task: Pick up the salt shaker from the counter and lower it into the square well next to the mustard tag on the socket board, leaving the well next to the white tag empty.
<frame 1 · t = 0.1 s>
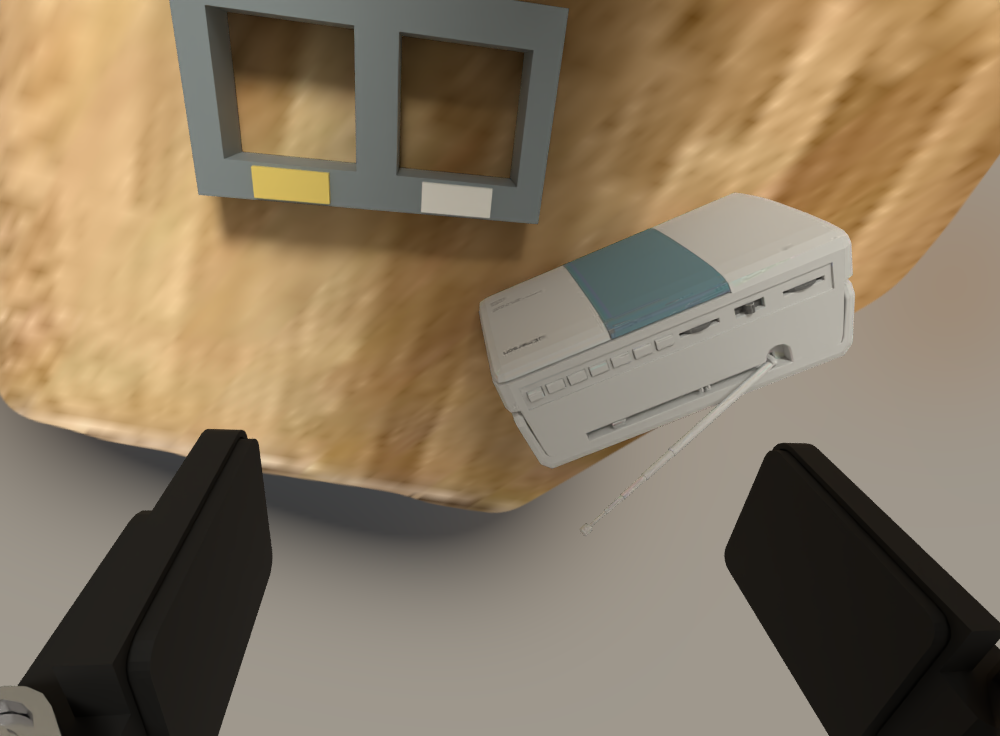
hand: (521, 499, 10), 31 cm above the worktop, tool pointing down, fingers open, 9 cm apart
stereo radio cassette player: (612, 283, 42), on the worktop
socket board: (381, 102, 34), on the worktop
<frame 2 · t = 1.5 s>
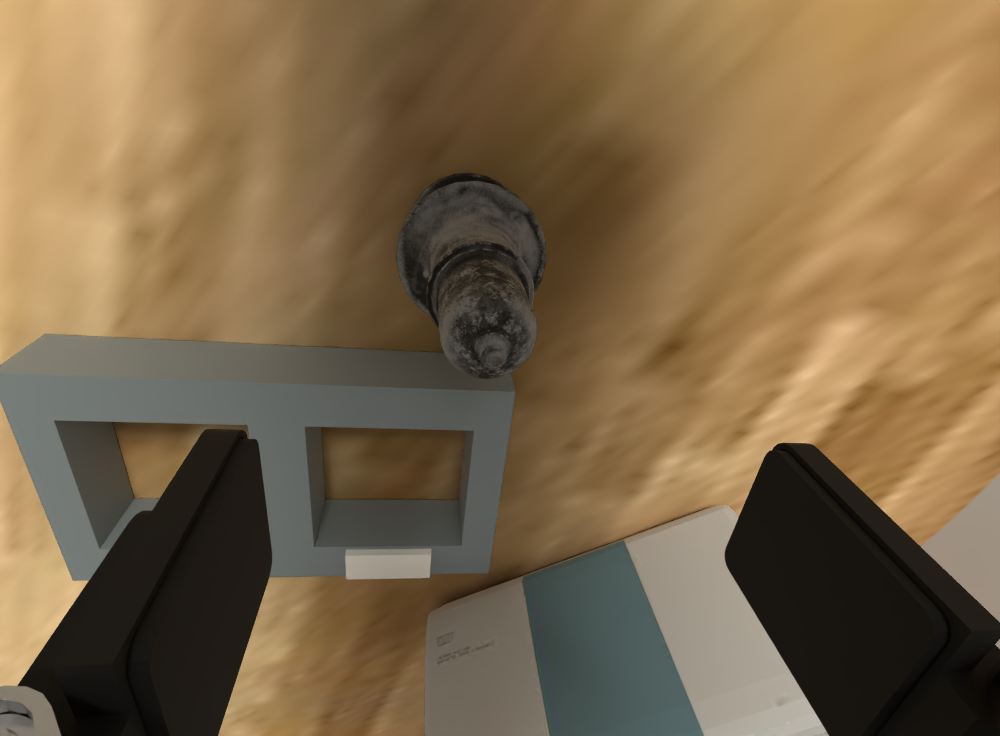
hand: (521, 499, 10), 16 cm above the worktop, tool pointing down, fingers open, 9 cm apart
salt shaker: (466, 233, 24), on the worktop
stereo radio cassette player: (583, 575, 37), on the worktop
socket board: (299, 445, 28), on the worktop
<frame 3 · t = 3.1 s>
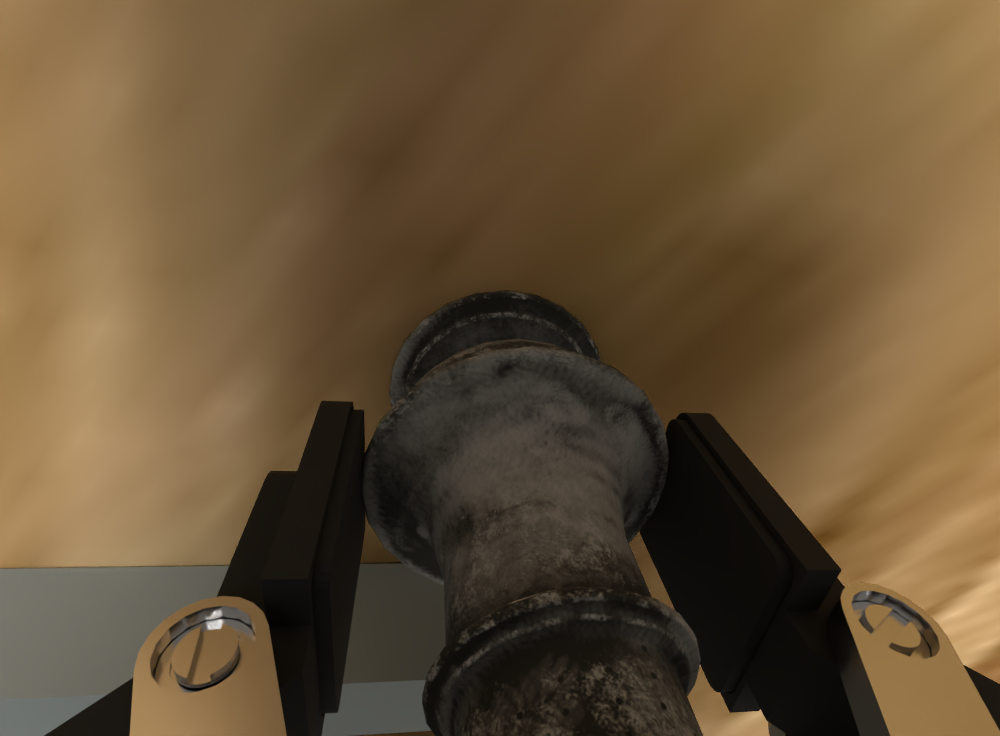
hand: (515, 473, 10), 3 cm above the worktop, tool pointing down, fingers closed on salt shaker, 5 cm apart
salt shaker: (497, 387, 13), on the worktop, touching gripper
socket board: (219, 693, 17), on the worktop
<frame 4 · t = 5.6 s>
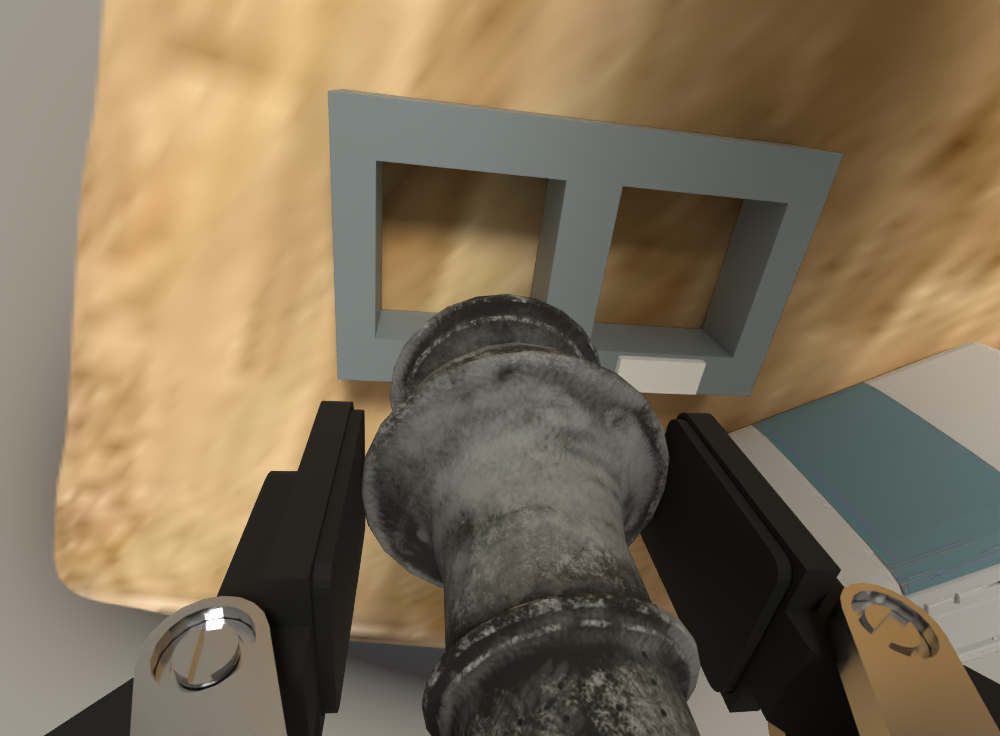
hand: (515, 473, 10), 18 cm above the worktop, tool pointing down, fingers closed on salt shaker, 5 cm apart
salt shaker: (497, 390, 13), point 14 cm above the worktop, touching gripper
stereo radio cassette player: (798, 435, 35), on the worktop
socket board: (561, 250, 27), on the worktop
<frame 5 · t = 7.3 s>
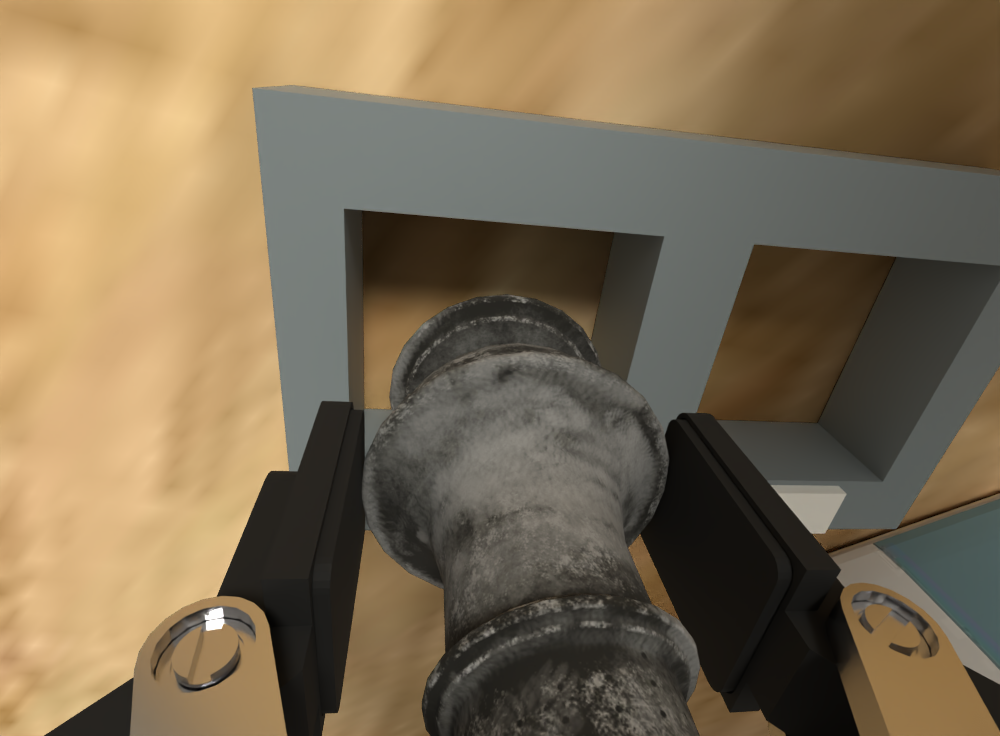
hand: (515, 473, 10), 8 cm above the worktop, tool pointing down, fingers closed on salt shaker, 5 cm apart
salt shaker: (497, 390, 13), point 5 cm above the worktop, touching gripper
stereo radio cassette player: (923, 545, 26), on the worktop
socket board: (629, 323, 18), on the worktop
when the fingers open (5 cm above the worktop, at t = 8.4 s): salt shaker drops 2 cm, resting in socket board.
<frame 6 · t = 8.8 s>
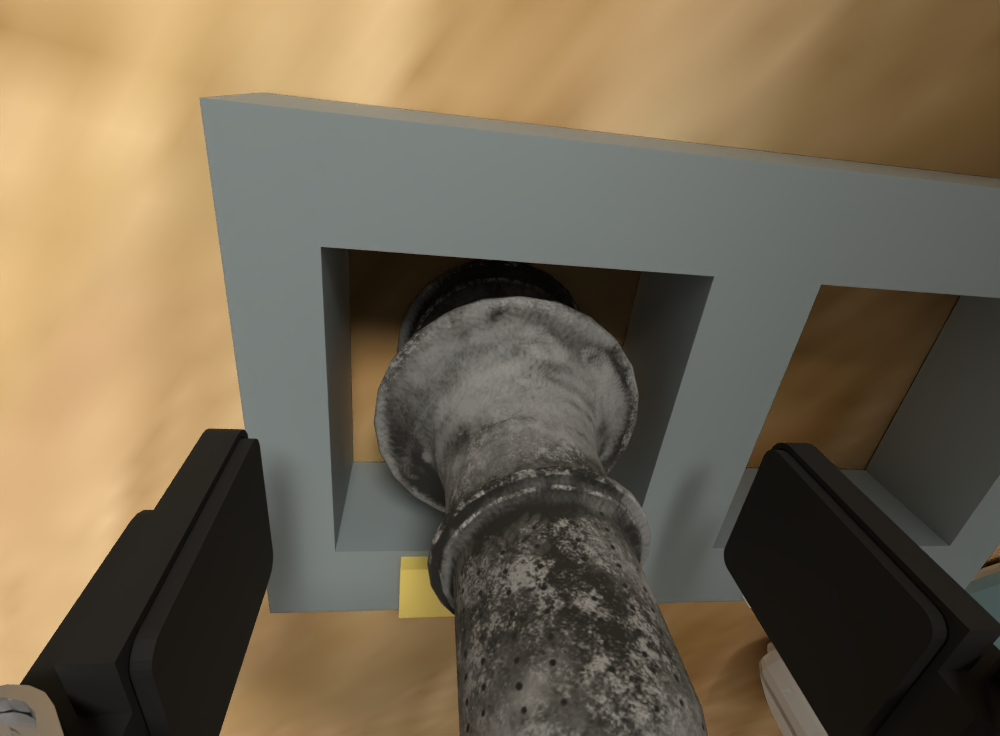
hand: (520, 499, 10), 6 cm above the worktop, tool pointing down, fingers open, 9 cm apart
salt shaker: (492, 348, 15), resting in socket board
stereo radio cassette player: (971, 594, 24), on the worktop
socket board: (658, 364, 16), on the worktop
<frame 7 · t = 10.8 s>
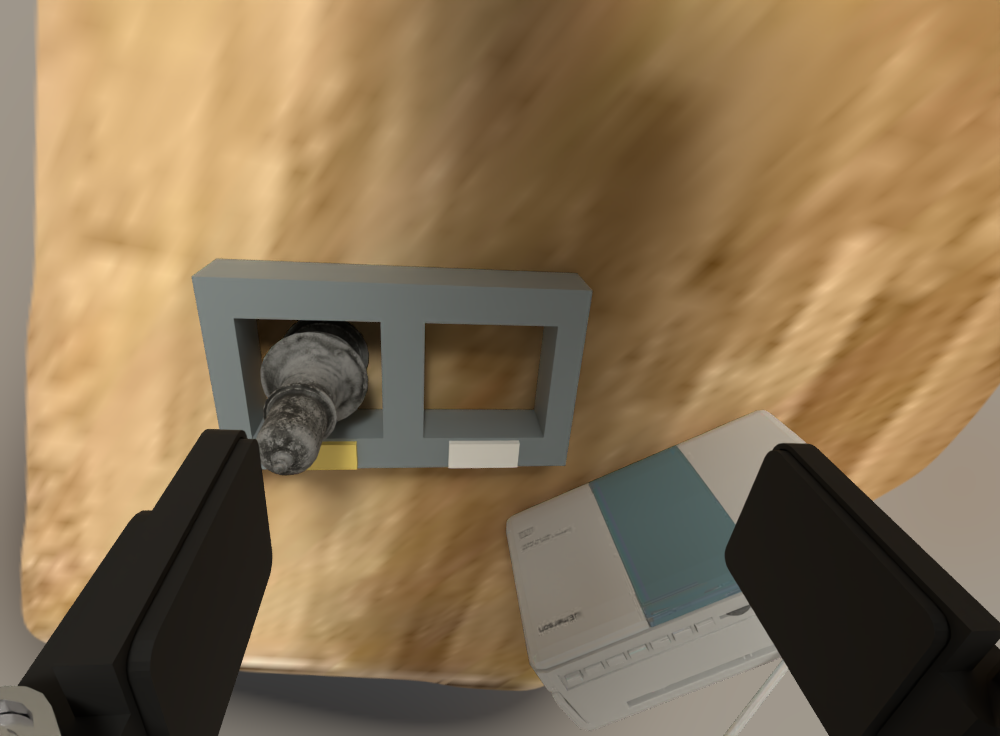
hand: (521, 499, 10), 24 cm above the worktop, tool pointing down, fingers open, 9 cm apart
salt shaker: (326, 353, 33), resting in socket board
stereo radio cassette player: (639, 487, 42), on the worktop
socket board: (405, 358, 34), on the worktop
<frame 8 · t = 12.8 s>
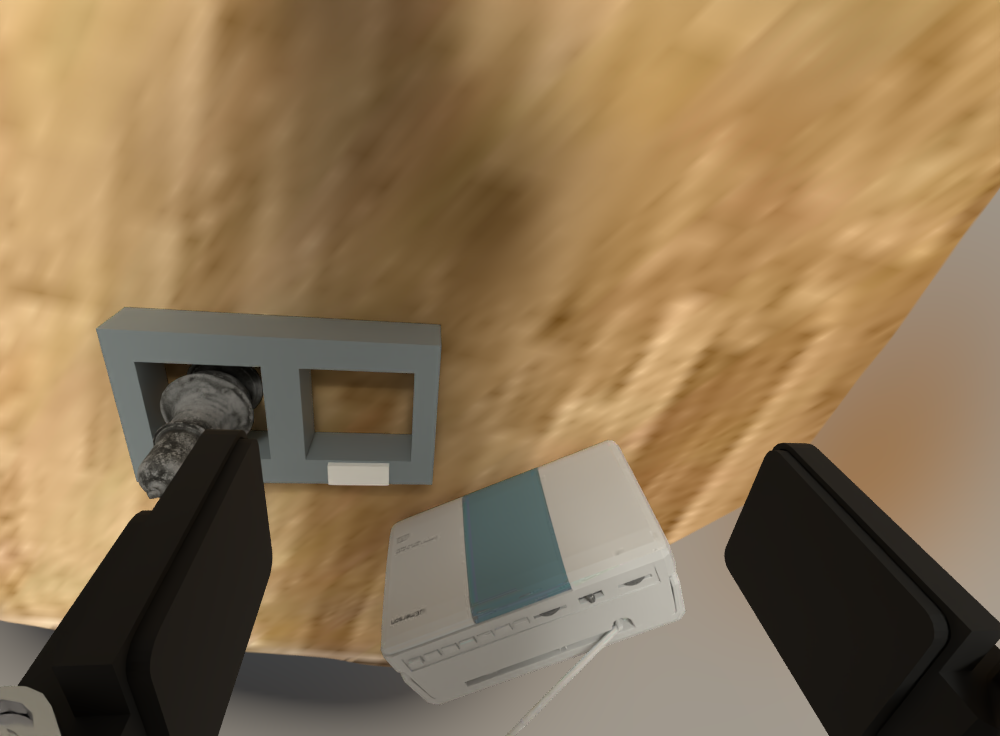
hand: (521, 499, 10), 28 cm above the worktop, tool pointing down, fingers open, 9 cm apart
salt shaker: (226, 384, 39), resting in socket board
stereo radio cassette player: (512, 500, 48), on the worktop
socket board: (295, 390, 40), on the worktop
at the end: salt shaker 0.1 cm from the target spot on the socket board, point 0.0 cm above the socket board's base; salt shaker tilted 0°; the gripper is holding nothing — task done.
